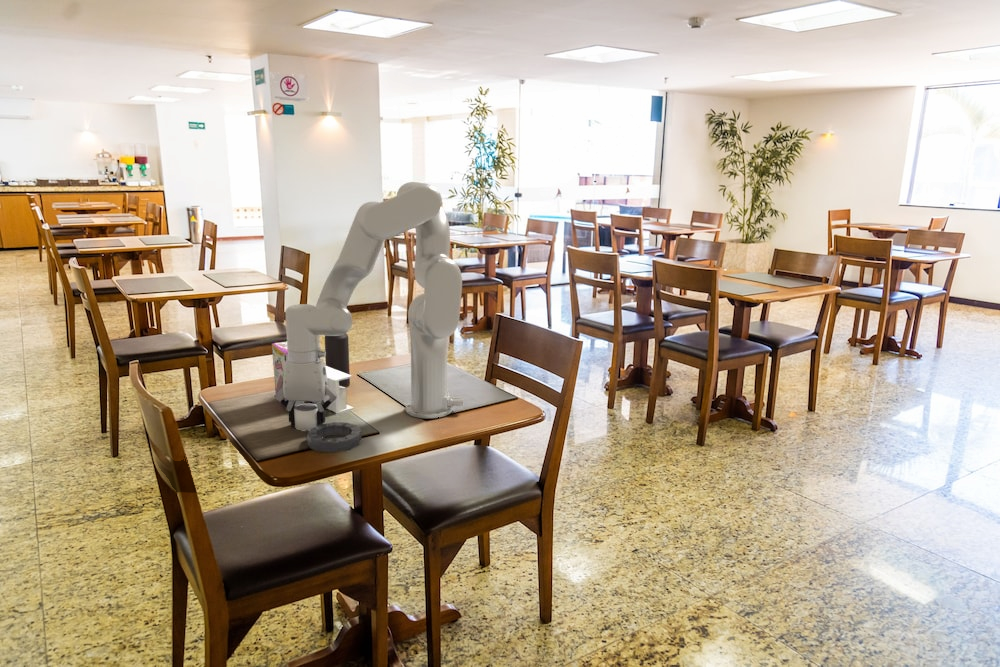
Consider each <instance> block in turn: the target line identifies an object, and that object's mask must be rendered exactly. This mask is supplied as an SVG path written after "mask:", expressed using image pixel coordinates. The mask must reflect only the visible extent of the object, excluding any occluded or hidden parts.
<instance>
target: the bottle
mask: <svg viewBox="0 0 1000 667" xmlns="http://www.w3.org/2000/svg"><path fill="white" fill-rule="evenodd" d="M349 345H350V344H349V335H348V334H347V333H345V334H343V335H340V336H328V335H324V351H325V352H326V356H325V357H324V358H325V360H324V361H325V366H328V367H330V368H333V369H336V370H338V371H341V372H344V373H346V374H349V375H351V373H350V372H351V371H350V351H349V350H350V348H349V347H350V346H349ZM350 380H351V378H348V379H344V380H341V381H339V386H342V387H346V388H349V386H350V385H351V382H350Z"/></svg>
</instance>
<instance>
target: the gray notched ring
mask: <svg viewBox="0 0 1000 667" xmlns="http://www.w3.org/2000/svg"><path fill="white" fill-rule="evenodd" d="M329 435H332V436H343V437H337V438H325V437H324V436H326V437H330V436H329ZM344 435H345V436H344ZM322 437H324V438H322ZM306 442H307V443H308V444H309V445H308V444H307V443H306V444H307V445H308V447H309V446H310V447H309V449H311V450H313V451H316V452H319V453H340V452H346V451H350V450H352V449H354V448H356V447H358V446H360V443H361V442H362V429H361V428H360V427H359V426H358V425H357V424H354V423H350V422H337V421H335V422H333V421H332V422H328V423H323V424H321V425H318V426H316V427H314V428H311V429H310V431H307V433H306Z"/></svg>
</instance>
